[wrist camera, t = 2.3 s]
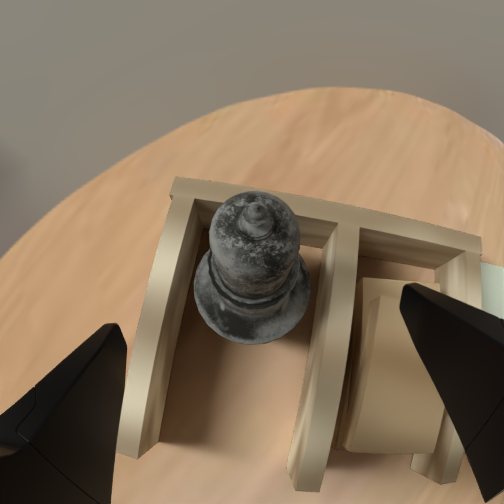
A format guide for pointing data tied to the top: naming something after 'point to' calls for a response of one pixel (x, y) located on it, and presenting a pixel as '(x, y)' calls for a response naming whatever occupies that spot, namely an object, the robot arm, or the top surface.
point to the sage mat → (492, 289)
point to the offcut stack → (385, 379)
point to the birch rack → (324, 325)
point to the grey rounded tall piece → (253, 270)
